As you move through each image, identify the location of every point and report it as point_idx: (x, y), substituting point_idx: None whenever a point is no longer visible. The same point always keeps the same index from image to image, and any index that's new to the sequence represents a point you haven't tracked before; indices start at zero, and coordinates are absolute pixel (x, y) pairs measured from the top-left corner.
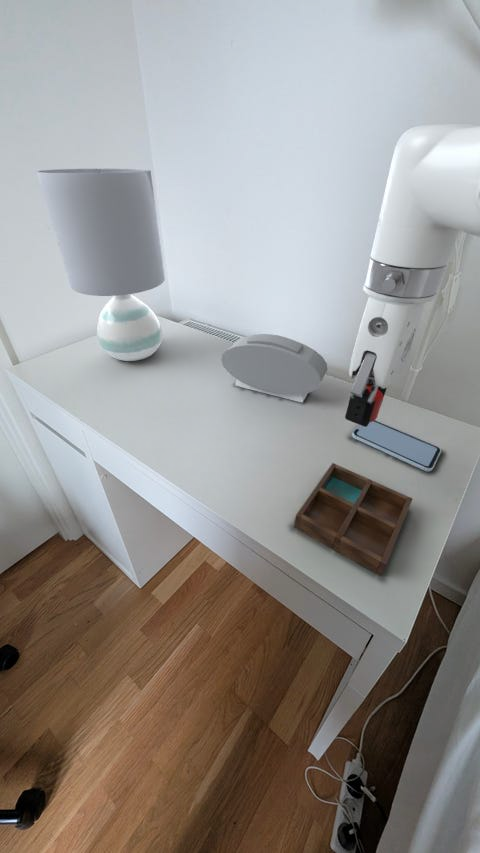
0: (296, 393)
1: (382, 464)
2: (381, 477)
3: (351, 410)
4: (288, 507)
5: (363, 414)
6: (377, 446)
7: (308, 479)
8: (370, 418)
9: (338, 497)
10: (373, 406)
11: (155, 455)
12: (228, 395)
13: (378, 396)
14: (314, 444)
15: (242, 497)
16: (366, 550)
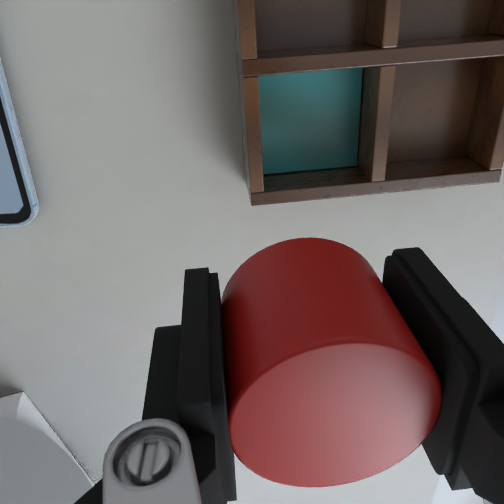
0: (31, 431)
1: (69, 68)
2: (134, 43)
3: None
4: (416, 205)
5: (489, 328)
6: (13, 124)
7: (299, 218)
8: (417, 272)
9: (382, 120)
10: (500, 344)
11: (424, 461)
12: None
13: (332, 370)
14: (160, 277)
15: None
16: None
